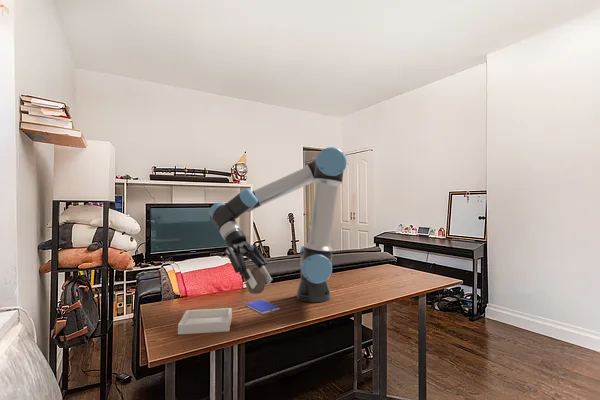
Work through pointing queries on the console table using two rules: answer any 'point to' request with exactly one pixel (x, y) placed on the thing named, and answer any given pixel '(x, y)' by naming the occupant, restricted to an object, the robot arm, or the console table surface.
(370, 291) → the console table surface
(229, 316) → the box
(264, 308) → the hard drive
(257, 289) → the vase
